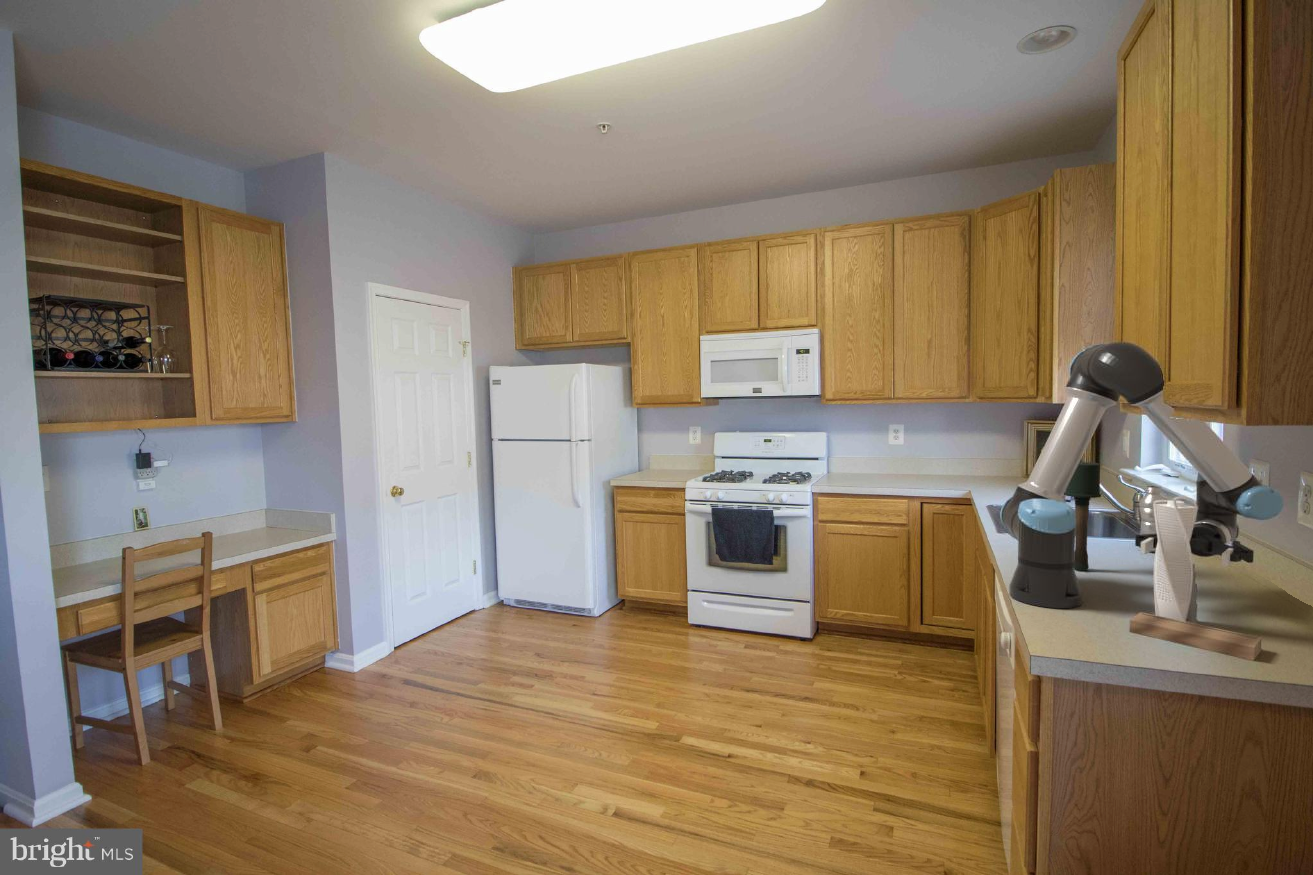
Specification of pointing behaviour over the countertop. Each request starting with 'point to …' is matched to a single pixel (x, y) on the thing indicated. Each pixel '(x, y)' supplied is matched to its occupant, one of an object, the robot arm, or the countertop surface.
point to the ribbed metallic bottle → (1149, 510)
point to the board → (1197, 635)
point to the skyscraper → (1175, 561)
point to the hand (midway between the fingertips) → (1181, 554)
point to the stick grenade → (1083, 506)
